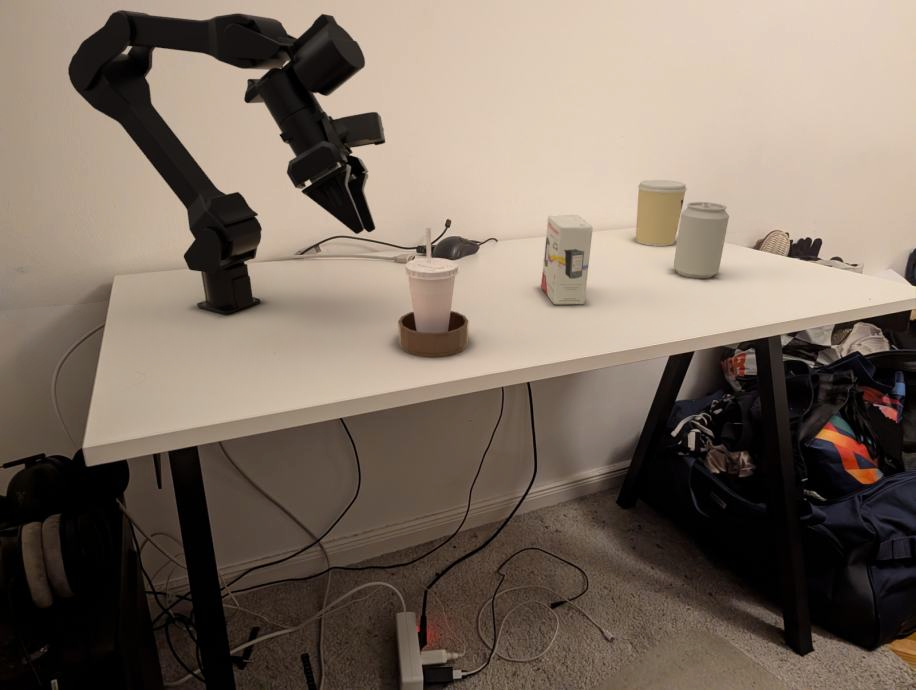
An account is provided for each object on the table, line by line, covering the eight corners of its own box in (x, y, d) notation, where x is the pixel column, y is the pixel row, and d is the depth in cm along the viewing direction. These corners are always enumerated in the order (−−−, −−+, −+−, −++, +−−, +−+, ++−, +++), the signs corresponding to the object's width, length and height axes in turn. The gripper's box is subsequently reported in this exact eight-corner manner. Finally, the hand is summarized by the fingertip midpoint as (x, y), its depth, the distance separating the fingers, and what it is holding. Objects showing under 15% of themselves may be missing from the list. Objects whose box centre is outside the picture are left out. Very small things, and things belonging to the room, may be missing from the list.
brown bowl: (385, 347, 75) (384, 324, 74) (424, 325, 82) (423, 304, 81) (444, 362, 71) (444, 339, 70) (479, 338, 78) (480, 316, 77)
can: (672, 277, 103) (683, 206, 99) (672, 266, 110) (682, 199, 105) (719, 281, 101) (733, 209, 97) (716, 269, 108) (728, 201, 103)
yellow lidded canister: (687, 245, 124) (696, 185, 119) (646, 248, 122) (655, 187, 117) (661, 235, 132) (669, 179, 128) (623, 237, 130) (630, 180, 125)
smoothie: (436, 325, 80) (435, 220, 75) (468, 340, 76) (470, 229, 70) (396, 337, 77) (393, 227, 71) (427, 353, 72) (426, 237, 67)
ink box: (540, 288, 97) (545, 214, 93) (571, 287, 98) (577, 214, 93) (553, 306, 89) (559, 226, 85) (586, 305, 90) (594, 226, 85)
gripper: (341, 63, 63) (416, 196, 66) (369, 98, 82) (426, 201, 84) (252, 118, 65) (329, 247, 67) (299, 140, 83) (358, 241, 86)
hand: (366, 231), depth 76 cm, fingers open, 9 cm apart
